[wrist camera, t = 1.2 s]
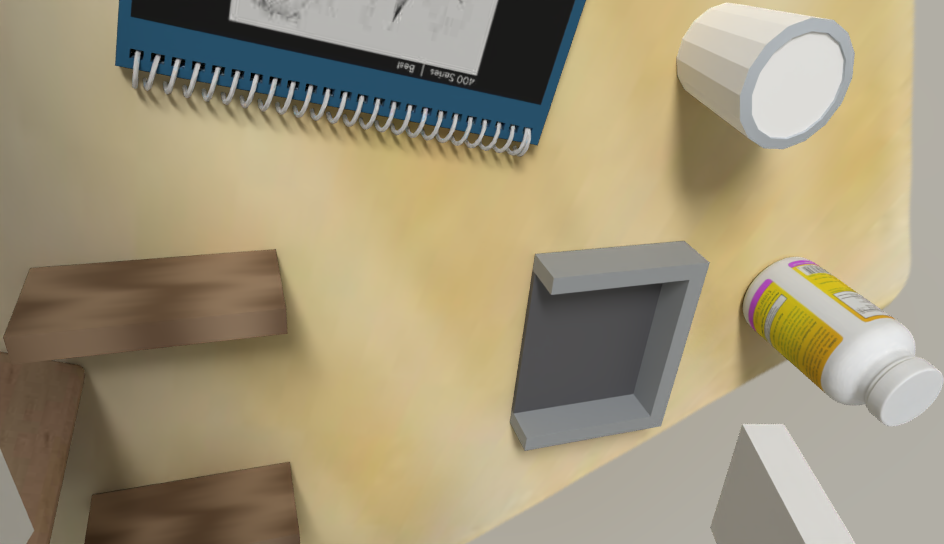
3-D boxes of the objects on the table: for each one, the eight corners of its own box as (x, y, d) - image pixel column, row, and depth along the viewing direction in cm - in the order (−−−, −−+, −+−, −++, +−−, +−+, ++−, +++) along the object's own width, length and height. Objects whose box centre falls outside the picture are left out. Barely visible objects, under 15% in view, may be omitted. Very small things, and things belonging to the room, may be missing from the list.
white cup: (776, 73, 44) (860, 110, 38) (681, 128, 44) (752, 173, 38) (759, -32, 40) (851, -9, 34) (654, 28, 40) (729, 62, 34)
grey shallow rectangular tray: (509, 421, 52) (524, 450, 50) (535, 254, 45) (554, 278, 43) (641, 400, 56) (660, 426, 53) (684, 240, 48) (709, 262, 46)
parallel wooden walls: (96, 511, 45) (84, 594, 40) (30, 268, 35) (3, 337, 31) (290, 477, 48) (300, 549, 44) (275, 249, 39) (286, 308, 34)
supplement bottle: (747, 339, 56) (870, 455, 46) (731, 283, 52) (861, 396, 42) (818, 296, 56) (957, 402, 46) (807, 237, 52) (957, 338, 42)
